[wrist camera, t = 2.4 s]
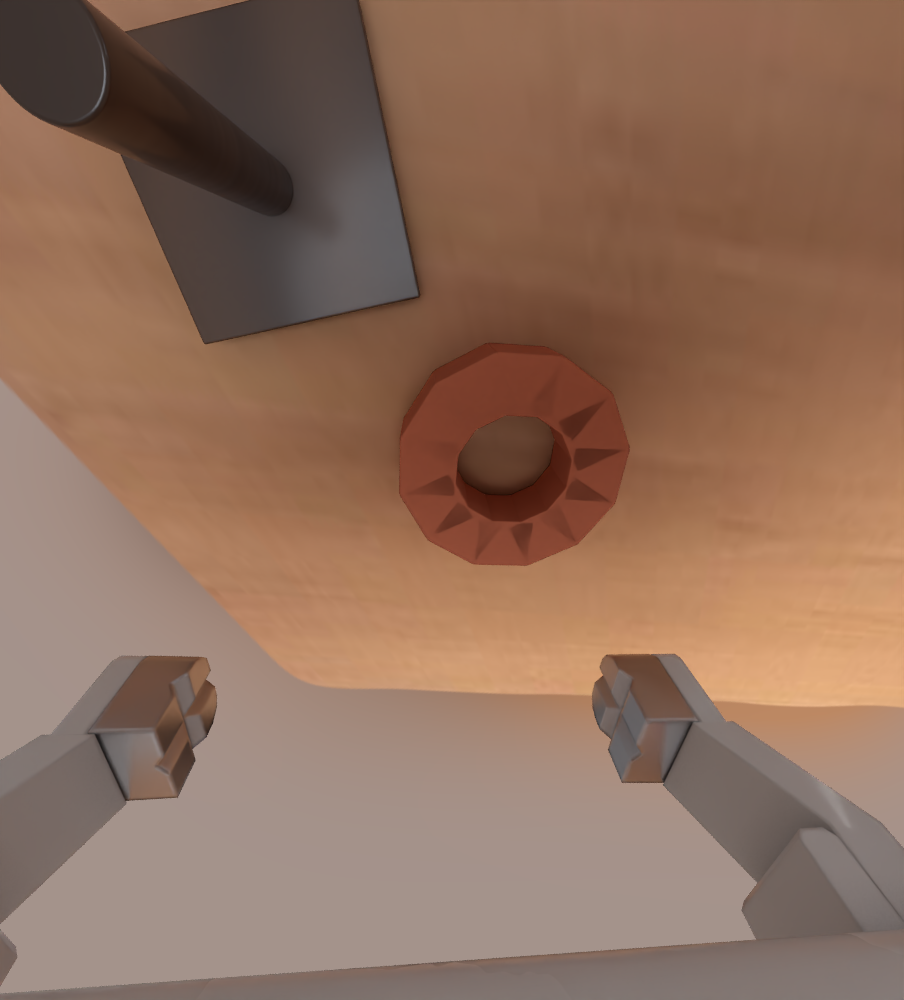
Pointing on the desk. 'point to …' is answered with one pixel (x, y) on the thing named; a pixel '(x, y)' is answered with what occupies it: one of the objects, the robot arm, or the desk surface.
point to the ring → (559, 490)
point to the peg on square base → (234, 148)
